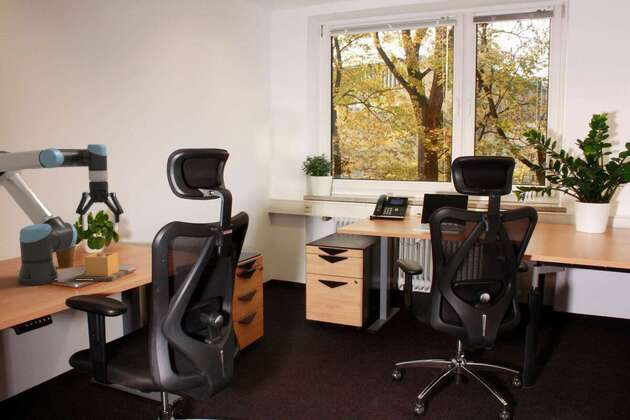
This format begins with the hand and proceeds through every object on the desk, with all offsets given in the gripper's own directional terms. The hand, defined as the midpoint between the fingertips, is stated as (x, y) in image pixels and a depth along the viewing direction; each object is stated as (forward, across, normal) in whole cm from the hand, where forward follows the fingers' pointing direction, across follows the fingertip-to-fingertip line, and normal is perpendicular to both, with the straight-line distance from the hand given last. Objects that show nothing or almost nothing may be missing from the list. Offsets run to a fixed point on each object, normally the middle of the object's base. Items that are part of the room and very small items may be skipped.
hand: (100, 230), depth 232 cm
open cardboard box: (+19, 0, 0) cm, 19 cm away
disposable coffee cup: (+20, +27, -18) cm, 39 cm away
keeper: (+20, 0, 0) cm, 20 cm away
